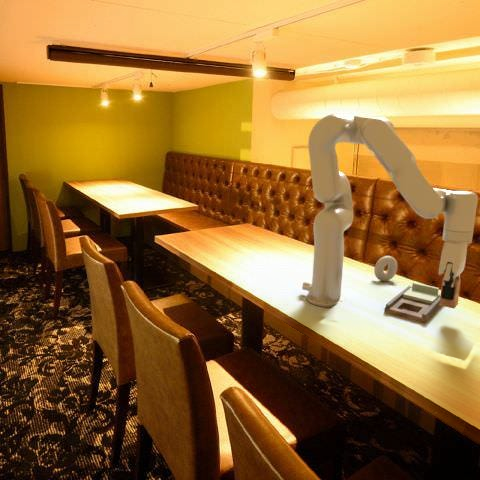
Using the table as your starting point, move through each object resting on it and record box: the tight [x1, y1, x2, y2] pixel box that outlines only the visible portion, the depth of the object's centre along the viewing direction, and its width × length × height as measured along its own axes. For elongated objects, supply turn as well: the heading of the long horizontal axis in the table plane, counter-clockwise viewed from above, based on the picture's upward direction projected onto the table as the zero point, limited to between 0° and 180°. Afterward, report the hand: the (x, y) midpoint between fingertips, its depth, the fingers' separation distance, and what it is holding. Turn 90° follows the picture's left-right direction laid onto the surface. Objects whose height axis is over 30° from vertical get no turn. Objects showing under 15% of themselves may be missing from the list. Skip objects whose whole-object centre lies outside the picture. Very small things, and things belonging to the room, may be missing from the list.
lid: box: [403, 282, 441, 304], centre depth 142 cm, size 9×8×3 cm
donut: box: [373, 255, 398, 282], centre depth 165 cm, size 10×4×10 cm, turn 114°
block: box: [440, 277, 462, 309], centre depth 127 cm, size 4×4×8 cm
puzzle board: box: [383, 285, 441, 324], centre depth 139 cm, size 12×22×4 cm, turn 141°
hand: (449, 296), depth 127 cm, fingers closed on block, 4 cm apart
